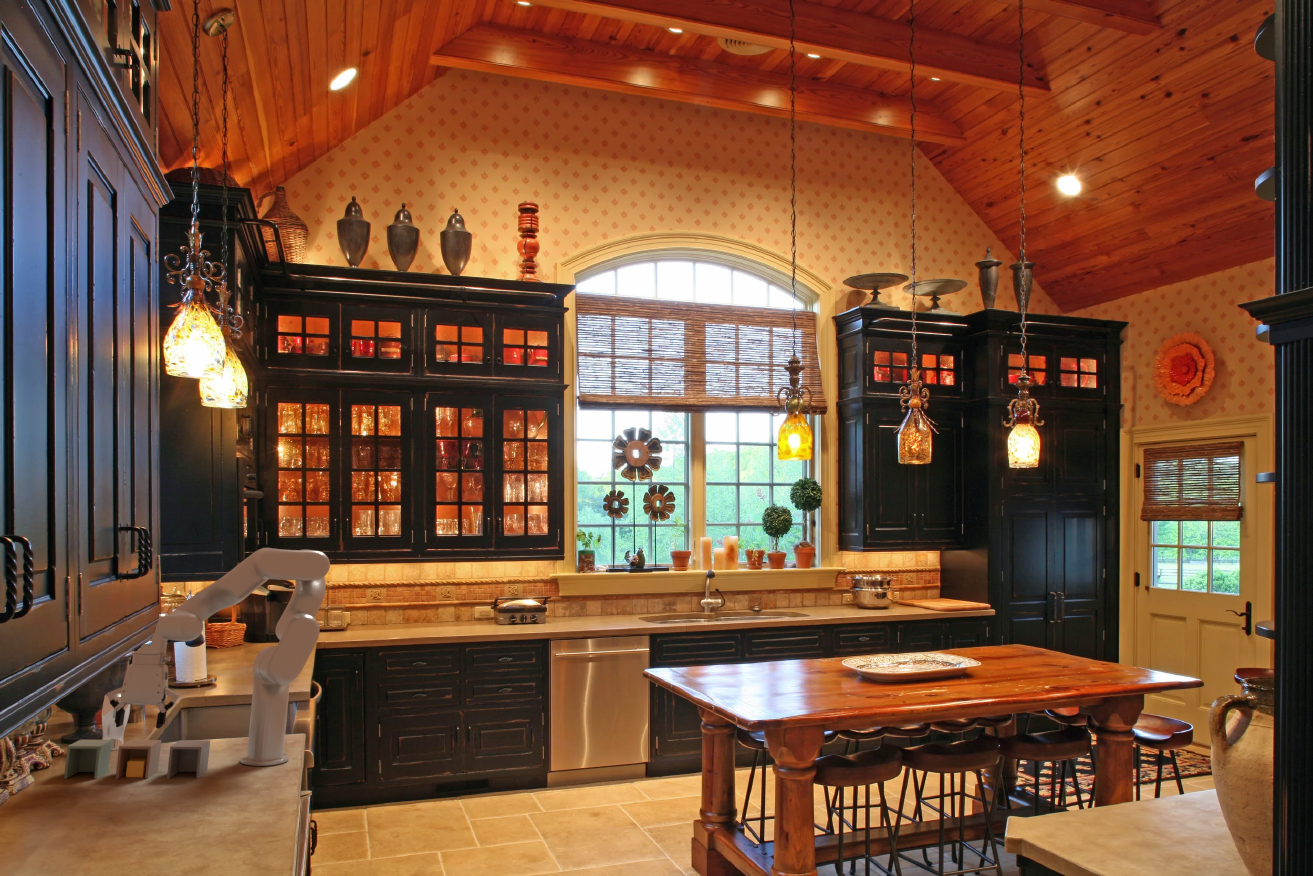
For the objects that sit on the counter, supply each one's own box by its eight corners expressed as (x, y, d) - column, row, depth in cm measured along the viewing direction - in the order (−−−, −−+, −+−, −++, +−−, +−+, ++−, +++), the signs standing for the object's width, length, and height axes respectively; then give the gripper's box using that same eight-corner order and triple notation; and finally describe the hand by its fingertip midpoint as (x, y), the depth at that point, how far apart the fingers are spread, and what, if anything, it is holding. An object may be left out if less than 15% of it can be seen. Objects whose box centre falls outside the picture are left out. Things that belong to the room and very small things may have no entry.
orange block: (131, 773, 238) (133, 757, 239) (148, 773, 239) (149, 757, 240) (125, 777, 234) (127, 761, 235) (142, 777, 235) (144, 761, 236)
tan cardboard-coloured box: (126, 771, 240) (130, 740, 241) (158, 771, 241) (161, 740, 242) (115, 778, 232) (119, 746, 233) (147, 778, 234) (151, 746, 235)
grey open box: (176, 771, 242) (179, 740, 243) (207, 771, 243) (210, 740, 244) (166, 778, 235) (170, 746, 235) (198, 778, 236) (201, 746, 237)
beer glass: (120, 744, 268) (125, 692, 270) (129, 748, 263) (135, 695, 265) (93, 747, 263) (100, 694, 264) (103, 752, 258) (109, 697, 260)
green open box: (76, 771, 238) (80, 739, 239) (108, 771, 239) (112, 739, 240) (63, 778, 230) (67, 746, 231) (96, 778, 232) (100, 746, 232)
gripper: (188, 659, 245) (179, 725, 243) (118, 656, 242) (109, 723, 240) (179, 663, 238) (170, 730, 236) (107, 660, 235) (97, 728, 233)
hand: (139, 726), depth 238 cm, fingers open, 9 cm apart
